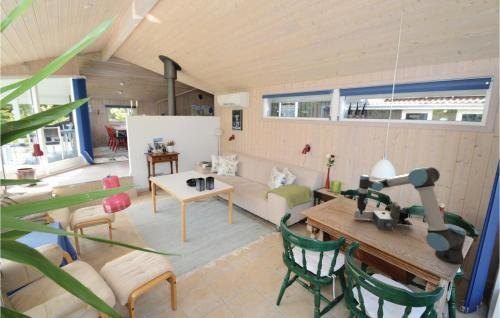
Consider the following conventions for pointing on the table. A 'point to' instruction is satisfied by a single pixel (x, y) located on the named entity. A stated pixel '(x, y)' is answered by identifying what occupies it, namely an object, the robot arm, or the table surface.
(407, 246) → the table surface
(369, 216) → the side door
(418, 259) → the table surface
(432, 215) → the robot arm
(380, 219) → the camera housing
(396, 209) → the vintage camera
